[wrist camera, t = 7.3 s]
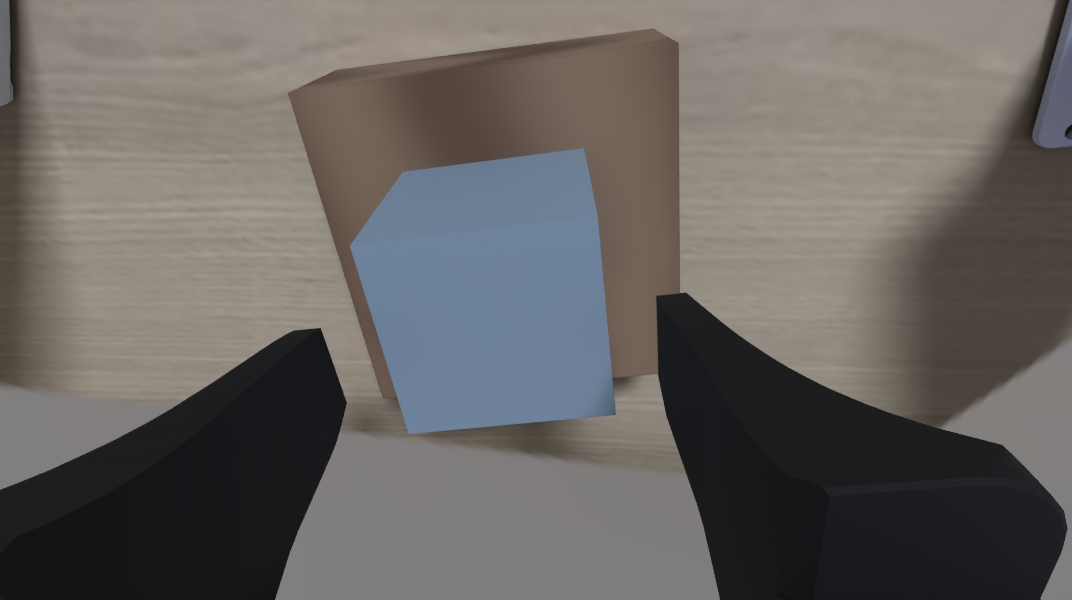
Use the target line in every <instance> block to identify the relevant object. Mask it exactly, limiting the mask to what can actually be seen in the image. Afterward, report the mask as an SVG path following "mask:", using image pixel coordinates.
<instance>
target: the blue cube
mask: <svg viewBox="0 0 1072 600" xmlns="http://www.w3.org/2000/svg"><path fill="white" fill-rule="evenodd" d="M350 248H351V252H352V255H353V258H354V261H355V264H356V267H357V271H358V274H359V277H360V280H361V283H362V287H363V290H364V293H365V296H366V299H367V303H368V306H369V309H370V312H371V315H372V319H373V322H374V325H375V328H376V331H377V334H378V338H379V341H380V344H381V347H382V350H383V354H384V357H385V360H386V363H387V366H388V370H389V373H390V376H391V379H392V382H393V385H394V389H395V392H396V395H397V398H398V401H399V405H400V408H401V411H402V414H403V417H404V421H405V424H406V427H407V430H408V433H409V434H415V433H426V432H436V431H447V430H458V429H468V428H479V427H490V426H500V425H511V424H522V423H532V422H543V421H554V420H565V419H575V418H586V417H597V416H607V415H616V412H615V401H614V390H613V379H612V368H611V357H610V346H609V335H608V324H607V313H606V302H605V291H604V280H603V269H602V259H601V248H600V237H599V226H598V215H597V210H596V205H595V200H594V195H593V190H592V185H591V180H590V175H589V170H588V165H587V160H586V155H585V150H584V148H582V149H574V150H567V151H559V152H551V153H544V154H536V155H528V156H521V157H513V158H505V159H498V160H490V161H482V162H475V163H467V164H459V165H452V166H444V167H436V168H429V169H421V170H413V171H406V172H402V174H401V175H400V176H399V178H398V179H397V181H396V182H395V183H394V185H393V186H392V188H391V189H390V190H389V192H388V193H387V195H386V196H385V197H384V199H383V200H382V202H381V203H380V204H379V206H378V207H377V209H376V210H375V211H374V213H373V214H372V216H371V217H370V218H369V220H368V221H367V223H366V224H365V225H364V227H363V228H362V230H361V231H360V232H359V234H358V235H357V236H356V238H355V239H354V241H353V242H352V243H351V245H350Z"/></svg>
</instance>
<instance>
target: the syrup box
mask: <svg viewBox="0 0 1072 600" xmlns="http://www.w3.org/2000/svg"><path fill="white" fill-rule="evenodd" d="M10 53H11V47H10V10H9V0H0V106H3V105H6V104H8V103H9V102H10V101H12V100H13V86H12V83H11V82H10Z"/></svg>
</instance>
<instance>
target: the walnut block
mask: <svg viewBox="0 0 1072 600" xmlns="http://www.w3.org/2000/svg"><path fill="white" fill-rule="evenodd" d="M288 95H289V98H290V101H291V104H292V107H293V111H294V114H295V117H296V120H297V124H298V127H299V130H300V133H301V136H302V140H303V143H304V146H305V149H306V152H307V156H308V159H309V162H310V165H311V169H312V172H313V175H314V178H315V181H316V185H317V188H318V191H319V194H320V198H321V201H322V204H323V207H324V210H325V214H326V217H327V220H328V223H329V226H330V230H331V233H332V236H333V239H334V243H335V246H336V249H337V252H338V255H339V259H340V262H341V265H342V268H343V272H344V275H345V278H346V281H347V284H348V288H349V291H350V294H351V297H352V300H353V304H354V307H355V310H356V313H357V317H358V320H359V323H360V326H361V329H362V333H363V336H364V339H365V342H366V345H367V349H368V352H369V355H370V358H371V362H372V365H373V368H374V371H375V374H376V378H377V381H378V384H379V387H380V391H381V394H382V397H383V398H389V397H397V395H396V392H395V389H394V385H393V382H392V379H391V376H390V373H389V370H388V366H387V363H386V360H385V357H384V354H383V350H382V347H381V344H380V341H379V338H378V334H377V331H376V328H375V325H374V322H373V319H372V315H371V312H370V309H369V306H368V303H367V299H366V296H365V293H364V290H363V287H362V283H361V280H360V277H359V274H358V271H357V267H356V264H355V261H354V258H353V255H352V252H351V248H350V245H351V243H352V242H353V241H354V239H355V238H356V236H357V235H358V234H359V232H360V231H361V230H362V228H363V227H364V225H365V224H366V223H367V221H368V220H369V218H370V217H371V216H372V214H373V213H374V211H375V210H376V209H377V207H378V206H379V204H380V203H381V202H382V200H383V199H384V197H385V196H386V195H387V193H388V192H389V190H390V189H391V188H392V186H393V185H394V183H395V182H396V181H397V179H398V178H399V176H400V175H401V174H402V172H406V171H413V170H421V169H429V168H436V167H444V166H452V165H459V164H467V163H475V162H482V161H490V160H498V159H505V158H513V157H521V156H528V155H536V154H544V153H551V152H559V151H567V150H574V149H582V148H584V150H585V155H586V160H587V165H588V170H589V175H590V180H591V185H592V190H593V195H594V200H595V205H596V210H597V215H598V226H599V237H600V248H601V259H602V269H603V280H604V291H605V302H606V313H607V324H608V335H609V346H610V357H611V368H612V378H617V377H629V376H640V375H652V374H658V344H657V308H656V296H658V295H668V294H678V293H680V233H679V50H678V43H677V42H676V41H674V40H672V39H670V38H669V37H667V36H665V35H663V34H662V33H660V32H658V31H656V30H655V29H648V30H640V31H633V32H625V33H617V34H610V35H602V36H594V37H587V38H579V39H571V40H564V41H556V42H548V43H541V44H533V45H525V46H518V47H510V48H502V49H495V50H487V51H479V52H472V53H464V54H456V55H449V56H441V57H433V58H426V59H418V60H410V61H403V62H395V63H387V64H380V65H372V66H364V67H357V68H349V69H341V70H335V71H333V72H331V73H329V74H327V75H325V76H323V77H321V78H319V79H317V80H315V81H312V82H310V83H308V84H306V85H304V86H302V87H300V88H298V89H296V90H294V91H292V92H290V93H288Z"/></svg>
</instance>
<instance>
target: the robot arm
mask: <svg viewBox="0 0 1072 600" xmlns="http://www.w3.org/2000/svg"><path fill="white" fill-rule="evenodd" d="M1071 124H1072V0H1070V1H1069V4H1068V8H1067V11H1066V15H1065V18H1064V22H1063V26H1062V29H1061V33H1060V36H1059V40H1058V43H1057V47H1056V51H1055V54H1054V58H1053V61H1052V65H1051V68H1050V72H1049V76H1048V79H1047V83H1046V86H1045V90H1044V93H1043V97H1042V101H1041V104H1040V108H1039V111H1038V115H1037V119H1036V122H1035V126H1034V129H1033V134H1032V139H1033V141H1034V143H1036V144H1037V145H1039V146H1042V147H1044V148H1059V147H1068V146H1072V130H1071V132H1070V133H1068V134H1067V135H1065V131H1066V129H1067V128H1068V127H1069V126H1070V125H1071ZM656 308H657V344H658V376H659V381H660V387H661V392H662V397H663V401H664V406H665V411H666V416H667V419H668V422H669V425H670V428H671V430H672V433H673V436H674V439H675V442H676V445H677V448H678V451H679V454H680V457H681V459H682V462H683V465H684V468H685V471H686V474H687V477H688V480H689V482H690V485H691V488H692V491H693V494H694V497H695V500H696V502H697V506H698V509H699V512H700V516H701V519H702V522H703V526H704V531H705V535H706V539H707V543H708V548H709V552H710V556H711V561H712V565H713V569H714V574H715V578H716V583H717V587H718V592H719V596H720V600H1041V599H1040V598H1041V596H1042V593H1043V591H1044V589H1045V587H1046V585H1047V582H1048V580H1049V578H1050V576H1051V574H1052V572H1053V569H1054V567H1055V565H1056V563H1057V561H1058V558H1059V556H1060V554H1061V551H1062V549H1063V545H1064V541H1065V537H1066V533H1067V524H1066V519H1065V514H1064V511H1063V509H1062V508H1061V507H1060V505H1059V504H1058V503H1057V502H1056V500H1055V499H1054V498H1053V496H1052V495H1051V494H1050V493H1049V492H1048V491H1047V490H1046V489H1045V488H1044V487H1043V486H1042V485H1041V484H1040V483H1039V481H1038V480H1037V479H1036V478H1035V477H1034V476H1033V475H1032V474H1031V473H1030V472H1029V471H1028V470H1027V469H1026V468H1025V467H1024V466H1023V465H1022V464H1021V463H1020V462H1019V461H1018V460H1017V459H1016V458H1015V457H1014V456H1013V455H1012V454H1011V453H1010V452H1009V451H1008V450H1007V449H1006V448H1005V447H1003V445H1000V444H996V443H992V442H988V441H985V440H981V439H977V438H973V437H969V436H965V435H961V434H958V433H954V432H950V431H946V430H942V429H938V428H934V427H931V426H928V425H924V424H921V423H918V422H915V421H912V420H909V419H906V418H903V417H900V416H897V415H894V414H891V413H888V412H886V411H883V410H880V409H877V408H875V407H872V406H869V405H867V404H864V403H862V402H859V401H857V400H855V399H852V398H850V397H848V396H845V395H843V394H841V393H838V392H836V391H833V390H831V389H829V388H827V387H825V386H823V385H821V384H819V383H817V382H815V381H813V380H811V379H809V378H807V377H805V376H803V375H801V374H799V373H798V372H796V371H794V370H792V369H790V368H788V367H786V366H785V365H783V364H781V363H780V362H778V361H776V360H775V359H773V358H772V357H770V356H768V355H767V354H765V353H764V352H762V351H761V350H759V349H758V348H756V347H755V346H753V345H752V344H750V343H749V342H747V341H746V340H745V339H743V338H742V337H740V336H739V335H738V334H736V333H735V332H734V331H732V330H731V329H730V328H728V327H727V326H726V325H725V324H723V323H722V322H721V321H719V320H718V319H717V318H716V317H715V316H713V315H712V314H711V313H710V312H709V311H707V310H706V309H705V308H704V307H703V306H701V305H700V304H699V303H698V302H697V301H695V300H694V299H693V298H692V297H691V296H689V295H688V294H687V293H678V294H668V295H658V296H656ZM346 404H347V402H346V399H345V396H344V394H343V391H342V388H341V385H340V382H339V379H338V376H337V374H336V371H335V368H334V365H333V362H332V359H331V356H330V353H329V351H328V348H327V345H326V342H325V339H324V336H323V333H322V331H321V328H316V329H306V330H296V331H292V332H290V333H288V334H286V335H284V336H283V337H281V338H279V339H278V340H276V341H274V342H273V343H271V344H270V345H268V346H267V347H265V348H264V349H262V350H261V351H259V352H258V353H256V354H255V355H253V356H252V357H250V358H249V359H247V360H246V361H244V362H243V363H241V364H240V365H238V366H237V367H235V368H234V369H232V370H231V371H229V372H228V373H226V374H225V375H223V376H222V377H221V378H219V379H218V380H216V381H215V382H213V383H211V384H210V385H208V386H207V387H205V388H204V389H202V390H200V391H199V392H197V393H196V394H194V395H192V396H191V397H189V398H188V399H186V400H185V401H183V402H181V403H180V404H178V405H177V406H175V407H173V408H172V409H170V410H169V411H167V412H165V413H163V414H162V415H160V416H158V417H156V418H155V419H153V420H151V421H150V422H148V423H146V424H144V425H142V426H140V427H139V428H136V429H135V430H133V431H131V432H129V433H127V434H125V435H123V436H121V437H120V438H118V439H116V440H114V441H112V442H110V443H108V444H105V445H103V446H101V447H99V448H97V449H95V450H93V451H90V452H88V453H86V454H84V455H82V456H80V457H78V458H75V459H73V460H71V461H69V462H67V463H64V464H62V465H60V466H58V467H56V468H53V469H51V470H49V471H47V472H44V473H41V474H39V475H37V476H34V477H32V478H30V479H27V480H24V481H22V482H19V483H17V484H14V485H12V486H9V487H7V488H4V489H1V490H0V600H275V598H276V594H277V591H278V588H279V585H280V582H281V579H282V576H283V572H284V569H285V566H286V562H287V559H288V556H289V553H290V550H291V548H292V545H293V543H294V540H295V537H296V535H297V532H298V530H299V528H300V525H301V523H302V521H303V519H304V516H305V514H306V512H307V510H308V507H309V505H310V503H311V500H312V498H313V496H314V494H315V491H316V489H317V487H318V484H319V482H320V480H321V478H322V475H323V473H324V471H325V468H326V466H327V464H328V461H329V459H330V457H331V454H332V452H333V450H334V447H335V445H336V441H337V438H338V435H339V431H340V428H341V424H342V420H343V416H344V412H345V408H346Z"/></svg>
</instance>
